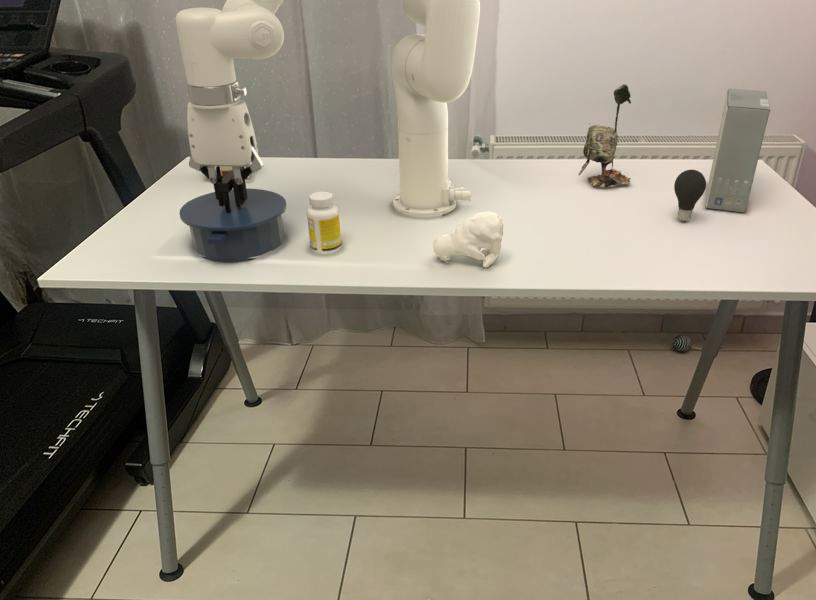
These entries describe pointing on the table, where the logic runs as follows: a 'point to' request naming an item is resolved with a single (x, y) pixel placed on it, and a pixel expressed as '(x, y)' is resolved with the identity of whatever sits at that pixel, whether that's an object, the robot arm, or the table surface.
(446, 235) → the white lumpy rounded piece
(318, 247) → the supplement bottle
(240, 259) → the pot
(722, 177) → the hard drive box
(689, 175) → the light bulb
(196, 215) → the lid
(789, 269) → the table surface
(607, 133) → the bird figurine
